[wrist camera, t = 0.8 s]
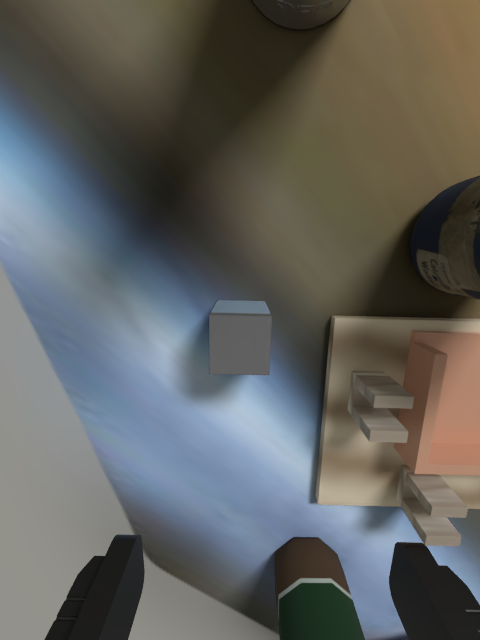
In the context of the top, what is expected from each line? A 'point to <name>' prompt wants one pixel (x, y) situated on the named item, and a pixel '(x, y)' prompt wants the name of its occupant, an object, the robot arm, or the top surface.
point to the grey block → (239, 338)
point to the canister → (450, 240)
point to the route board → (383, 427)
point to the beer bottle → (313, 593)
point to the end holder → (442, 403)
